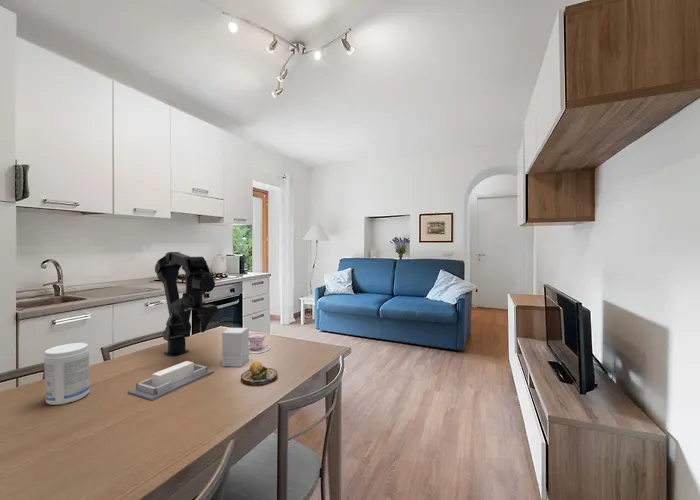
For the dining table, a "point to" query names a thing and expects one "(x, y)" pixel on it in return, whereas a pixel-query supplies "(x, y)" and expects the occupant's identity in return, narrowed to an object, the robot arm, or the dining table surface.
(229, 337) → the supplement box
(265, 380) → the burger
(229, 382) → the dining table surface
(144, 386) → the grey bracket base
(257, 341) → the teacup
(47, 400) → the supplement tub
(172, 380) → the slat
